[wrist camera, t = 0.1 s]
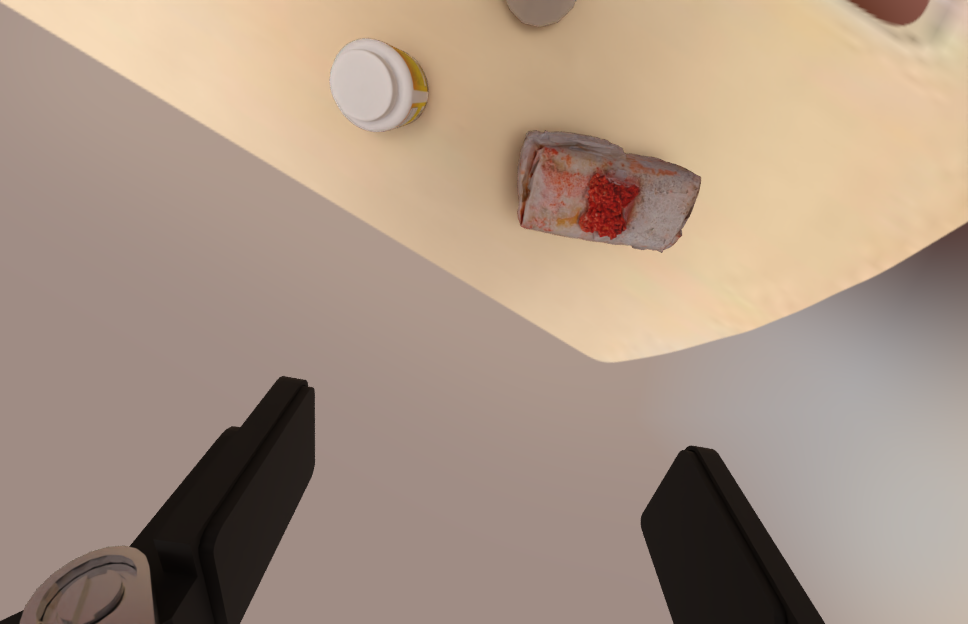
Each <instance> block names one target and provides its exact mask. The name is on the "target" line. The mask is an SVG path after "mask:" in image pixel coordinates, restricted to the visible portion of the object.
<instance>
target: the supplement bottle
mask: <svg viewBox="0 0 968 624" xmlns="http://www.w3.org/2000/svg"><path fill="white" fill-rule="evenodd" d="M330 88H331V92H332V95H333V98H334V100H335V102H336V104H337V106H338V107H339V109H340V111H341V112H342V113H343V115H344V116H345V117H346V118H347V119H348V120H349V121H350V122H352V123H353V124H354V125H356V126H357V127H359V128H361V129H364V130H367V131H371V132H384V131H388V130H391V129H394V128H398V127H401V126H404V125H407V124H409V123H411V122H413V121H415V120H416V119H417V118H418V117H419V116H420V115H421V114H422V112H423V111H424V109H425V107H426V104H427V100H428V83H427V79H426V76H425V73H424V71H423V69H422V68H421V66H420V65H419V63H418V62H417V61H416V60H415V59H414V58H413V57H411V56H410V55H408V54H407V53H405V52H403V51H401V50H399V49H397V48H395V47H393V46H391V45H389V44H387V43H384V42H382V41H379V40H375V39H369V38H363V39H358V40H355V41H352V42H350V43H348V44H347V45H346V46H344V47H343V48H342V49H341V50H340V52H339V53H338V54H337V56H336V58H335V60H334V62H333V66H332V68H331V72H330Z"/></svg>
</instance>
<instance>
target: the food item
mask: <svg viewBox="0 0 968 624" xmlns="http://www.w3.org/2000/svg"><path fill="white" fill-rule="evenodd" d="M700 184H701V177H700V176H698V175H696V174H694V173H693V172H691V171H689V170H687V169H685V168H683V167H681V166H678V165H676V164H672V163H670V162H665V161H663V160H661V159H657V158H654V157H646V156H640V155H636V154H625V153H624V151H623V148H621V147H619V146H618V145H615V144H612V143H610V142H609V141H607V140H605V139H599V138H597V137H592V136H586V135H580V134H575V133H567V132H548V131H545V132H543V133H542V132H539V131H537V130H536V131H528V132H527V133H526V138H525V140H524V144H523V147H522V149H521V151H520V157H519V164H518V183H517V188H518V196H519V208H518V211H517V213H518V220H519V223H520V225H521V227H523V228H526V229H532V230H536V231H541V232H545V233H549V234H554V235H559V236H564V237H569V238H579V239H583V240H588V241H595V242H604V243H608V244H614V245H631V246H632V248H635V249H640V250H645V249H650V250H657V251H659V252H661V253H662V252H663V250H665V249H667V248H670V247H671V246H673V245H674V244H675V243H676V242H677V240H678V239H679V238H680V237H681V236H682V230H681V229H682V228H683V227H684V225H685V223H686V221H687V219H688V218H689V217H690V214H691V212H692V209H693V207H694V204H695V201H696V199H697V196H698V193H699V189H700Z"/></svg>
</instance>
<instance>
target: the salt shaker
mask: <svg viewBox="0 0 968 624" xmlns="http://www.w3.org/2000/svg"><path fill="white" fill-rule="evenodd" d="M506 2H507V5H508V7H509V9H510V10H511V11H512V12H513V13H514V14H515V15H516V16H517V18H518V19H519V20H520V21H521V22H522V23H525V24H529V25H534V26H538V27H542V26H546V25H549V24H553V23H556V22H558V21H559V20H560V19H562V18H563V17H564V16H565V15H566V14H567V13H568V12H569V11H570V10H571V9H572V8H573V6H574V4H575V2H576V0H506Z"/></svg>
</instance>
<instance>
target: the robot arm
mask: <svg viewBox="0 0 968 624" xmlns="http://www.w3.org/2000/svg"><path fill="white" fill-rule="evenodd" d="M314 465H315V393H314V388H313V387H308V382H307V381H306V380H303V379H297V378H291V377H285V376H282V377H280V378H279V379H278V380H277V381H276V382H275V384H274V385H273V386H272V387H271V389H270V390H269V391H268V393H267V394H266V395H265V397H264V398H263V399H262V400H261V401H260V403H259V404H258V405H257V407H256V408H255V409H254V411H253V412H252V413H251V414H250V416H249V417H248V418H247V419H246V421H245V422H244V423H243V425H242V426H241V427H233V426H232V427H230V428H228V429H226V430H225V431H224V432H223V433H222V434H221V436H220V437H219V438H218V439H217V440H216V441H215V443H214V444H213V445H212V446H211V448H210V449H209V450H208V451H207V452H206V454H205V455H204V456H203V457H202V459H201V460H200V461H199V462H198V463H197V465H196V466H195V467H194V468H193V470H192V471H191V472H190V473H189V475H188V476H187V477H186V478H185V479H184V481H183V482H182V483H181V484H180V485H179V487H178V488H177V489H176V490H175V492H174V493H173V494H172V495H171V496H170V498H169V499H168V500H167V501H166V502H165V504H164V505H163V506H162V507H161V509H160V510H159V511H158V512H157V513H156V515H155V516H154V517H153V518H152V520H151V521H150V522H149V523H148V524H147V526H146V527H145V528H144V529H143V531H142V532H141V533H140V534H139V535H138V537H137V538H136V539H135V540H134V542H133V543H132V544H131V545H130V546H129V547H128V546H112V547H106V548H102V549H98V550H95V551H91V552H89V553H87V554H85V555H83V556H80V557H78V558H76V559H74V560H72V561H70V562H69V563H67V564H66V565H64V566H63V567H62V568H60V569H59V570H57V571H56V572H54V573H53V574H52V575H51V576H50V577H49V578H48V579H47V580H46V581H45V582H44V583H43V584H41V585H40V587H38V588H37V589H36V591H35V592H34V594H33V595H32V597H31V598H30V600H29V601H28V603H27V604H26V605H25V608H24V610H23V611H21V612H19V613H17V614H14V615H12V616H10V617H8V618H6V619H4V620H2V621H0V624H240V622H241V620H242V618H243V616H244V614H245V612H246V610H247V608H248V606H249V604H250V602H251V600H252V598H253V596H254V594H255V592H256V590H257V588H258V586H259V584H260V582H261V579H262V577H263V575H264V573H265V571H266V569H267V567H268V565H269V563H270V561H271V559H272V557H273V555H274V553H275V551H276V548H277V546H278V545H279V542H280V541H281V538H282V536H283V534H284V532H285V530H286V528H287V526H288V524H289V522H290V520H291V518H292V516H293V514H294V512H295V510H296V508H297V506H298V503H299V502H300V500H301V497H302V495H303V493H304V491H305V489H306V487H307V485H308V483H309V481H310V479H311V477H312V474H313V470H314ZM641 528H642V531H643V535H644V538H645V541H646V544H647V547H648V549H649V553H650V555H651V558H652V561H653V564H654V567H655V570H656V573H657V576H658V579H659V582H660V585H661V588H662V591H663V594H664V597H665V600H666V602H667V606H668V609H669V611H670V614H671V617H672V620H673V623H674V624H825V623H824V621H823V619H822V618H821V616H820V615H819V613H818V611H817V610H816V608H815V607H814V605H813V604H812V602H811V601H810V599H809V597H808V596H807V594H806V592H805V591H804V589H803V588H802V586H801V585H800V583H799V581H798V580H797V578H796V577H795V575H794V573H793V572H792V570H791V569H790V567H789V565H788V564H787V562H786V561H785V559H784V557H783V556H782V554H781V553H780V551H779V549H778V548H777V546H776V545H775V543H774V542H773V540H772V538H771V537H770V535H769V534H768V532H767V530H766V529H765V527H764V526H763V524H762V522H761V521H760V519H759V518H758V516H757V514H756V513H755V511H754V510H753V508H752V506H751V505H750V503H749V502H748V500H747V499H746V497H745V495H744V494H743V492H742V491H741V489H740V487H739V486H738V484H737V483H736V481H735V479H734V478H733V476H732V475H731V473H730V471H729V470H728V468H727V467H726V465H725V464H724V462H723V460H722V459H721V457H720V456H719V454H718V453H717V452H716V451H715V450H713V449H709V448H703V447H697V446H688V447H687V448H686V449H685V450H682V451H680V452H679V454H678V455H677V457H676V459H675V460H674V462H673V464H672V465H671V467H670V469H669V470H668V472H667V474H666V475H665V477H664V479H663V480H662V482H661V484H660V485H659V487H658V489H657V490H656V492H655V494H654V495H653V497H652V499H651V500H650V502H649V504H648V505H647V507H646V509H645V510H644V512H643V514H642V516H641Z"/></svg>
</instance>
